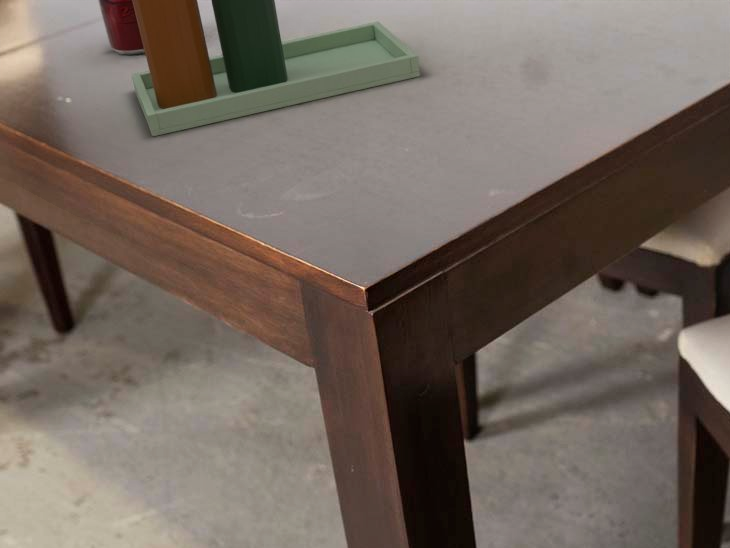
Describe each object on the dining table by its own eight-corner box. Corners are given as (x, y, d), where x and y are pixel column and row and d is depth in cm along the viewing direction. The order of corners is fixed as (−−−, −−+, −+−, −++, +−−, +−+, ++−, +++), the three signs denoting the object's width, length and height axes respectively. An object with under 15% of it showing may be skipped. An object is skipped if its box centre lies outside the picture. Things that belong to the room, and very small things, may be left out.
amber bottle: (163, 120, 103) (122, -48, 94) (155, 101, 107) (116, -60, 98) (222, 107, 104) (187, -60, 95) (211, 89, 108) (177, -72, 100)
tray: (152, 136, 99) (147, 115, 98) (135, 93, 110) (131, 74, 108) (420, 76, 104) (418, 55, 103) (380, 40, 114) (378, 21, 113)
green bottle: (236, 104, 104) (203, -63, 95) (225, 86, 108) (193, -75, 100) (294, 91, 105) (266, -75, 96) (280, 73, 109) (253, -87, 101)
